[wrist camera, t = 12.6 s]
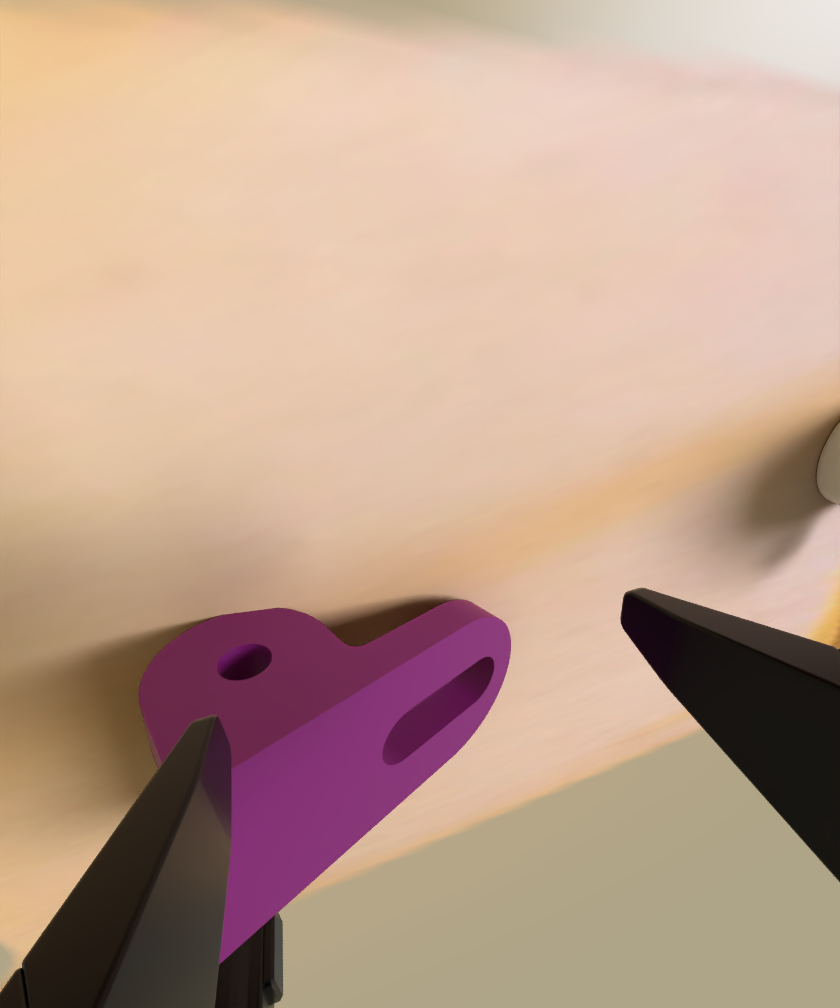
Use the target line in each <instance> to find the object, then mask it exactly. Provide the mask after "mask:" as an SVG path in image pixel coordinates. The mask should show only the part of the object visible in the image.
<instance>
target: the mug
mask: <svg viewBox="0 0 840 1008" xmlns="http://www.w3.org/2000/svg"><path fill="white" fill-rule="evenodd" d="M817 486H818V489H819V491H820V493H821V494H822V495H823V496H824V497H825V498H826V499H828V500H829V501H831V502H834V503H836V504H839V505H840V422H839V423H838V424H837V425H836V427H835V428H834V430H833V431H832V433H831V435H830V436H829V438H828V440H827V442H826V444H825V446H824V448H823V451H822V453H821V456H820V459H819V463H818V468H817Z"/></svg>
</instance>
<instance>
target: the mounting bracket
mask: <svg viewBox="0 0 840 1008" xmlns="http://www.w3.org/2000/svg"><path fill="white" fill-rule="evenodd" d="M510 652H511V638H510V633H509V630H508V627H507V626H506V624H505V623H504V622H503V621H502V620H500V619H499V618H497V617H495V616H494V615H492V614H490V613H489V612H487V611H485V610H484V609H482V608H480V607H479V606H477V605H475V604H473V603H472V602H470V601H467V600H452V601H449V602H446V603H443V604H441V605H439V606H437V607H435V608H433V609H431V610H429V611H427V612H426V613H424V614H422V615H420V616H418V617H416V618H414V619H412V620H411V621H409V622H407V623H405V624H403V625H401V626H399V627H397V628H396V629H394V630H392V631H390V632H388V633H386V634H384V635H382V636H381V637H379V638H377V639H375V640H373V641H371V642H369V643H367V644H365V645H363V646H349V645H346V644H344V643H343V642H342V641H341V640H340V639H339V638H338V637H337V636H335V635H334V634H333V633H332V632H331V631H330V630H329V629H328V628H327V627H326V626H325V625H323V624H322V623H321V622H320V621H318V620H317V619H315V618H314V617H312V616H309V615H307V614H305V613H302V612H299V611H295V610H290V609H284V608H273V609H265V610H257V611H250V612H242V613H234V614H227V615H221V616H217V617H215V618H212V619H209V620H207V621H205V622H203V623H200V624H198V625H196V626H194V627H192V628H191V629H189V630H187V631H185V632H184V633H182V634H181V635H179V636H178V637H176V638H175V639H174V640H172V641H171V642H170V643H169V644H167V645H166V646H165V647H164V648H163V649H162V650H161V651H160V652H159V653H158V654H157V655H156V656H155V657H154V659H153V660H152V661H151V663H150V664H149V666H148V667H147V669H146V670H145V672H144V675H143V677H142V679H141V683H140V686H139V694H138V695H139V704H140V708H141V712H142V715H143V719H144V723H145V727H146V731H147V735H148V739H149V742H150V746H151V750H152V754H153V757H154V759H155V762H156V765H157V767H158V769H159V767H160V766H161V764H162V763H163V762H164V760H165V759H166V757H167V756H168V755H169V753H170V752H171V750H172V749H173V747H174V746H175V745H176V743H177V742H178V740H179V739H180V738H181V736H182V735H183V733H184V732H185V730H186V729H187V728H188V726H189V725H190V724H191V723H192V722H193V721H194V720H197V719H200V718H204V717H207V716H210V715H217V716H218V717H219V719H220V721H221V723H222V726H223V728H224V731H225V733H226V736H227V738H228V741H229V743H230V747H231V756H232V831H231V855H230V866H229V876H228V885H227V894H226V904H225V913H224V923H223V932H222V941H221V951H220V960H219V964H220V963H222V962H223V961H224V960H225V959H226V958H227V957H228V956H229V955H231V954H232V953H233V952H234V951H235V950H236V949H237V948H238V947H239V946H241V945H242V944H243V943H244V942H245V941H246V940H247V939H248V938H250V937H251V936H252V935H253V934H254V933H255V932H256V931H257V930H259V929H260V928H261V927H262V926H263V925H264V924H265V923H266V922H268V921H269V920H270V919H271V918H272V917H273V916H274V915H275V914H277V913H278V912H279V911H280V910H281V909H282V908H283V907H284V906H286V905H287V904H288V903H289V902H290V901H291V900H292V899H293V898H294V897H296V896H297V895H298V894H299V893H300V892H301V891H302V890H303V889H305V888H306V887H307V886H308V885H309V884H310V883H311V882H312V881H314V880H315V879H316V878H317V877H318V876H319V875H320V874H321V873H323V872H324V871H325V870H326V869H327V868H328V867H329V866H330V865H332V864H333V863H334V862H335V861H336V860H337V859H338V858H339V857H341V856H342V855H343V854H344V853H345V852H346V851H347V850H348V849H349V848H351V847H352V846H353V845H354V844H355V843H356V842H357V841H358V840H360V839H361V838H362V837H363V836H364V835H365V834H366V833H367V832H369V831H370V830H371V829H372V828H373V827H374V826H375V825H376V824H378V823H379V822H380V821H381V820H382V819H383V818H384V817H385V816H387V815H388V814H389V813H390V812H391V811H392V810H393V809H394V808H396V807H397V806H398V805H399V804H400V803H401V802H402V801H403V800H404V799H406V798H407V797H408V796H409V795H410V794H411V793H412V792H413V791H415V790H416V789H417V788H418V787H419V786H420V785H421V784H422V783H424V782H425V781H426V780H427V779H428V778H429V777H430V776H431V775H433V774H434V773H435V772H436V771H437V770H438V769H439V768H440V767H442V766H443V765H444V764H445V763H446V762H447V761H448V760H449V759H451V758H452V757H453V756H454V755H455V754H456V753H457V752H458V751H459V750H460V749H461V748H462V747H463V746H464V745H465V744H466V742H467V741H468V740H469V739H470V738H471V737H472V735H473V734H474V733H475V731H476V730H477V729H478V727H479V726H480V724H481V723H482V721H483V720H484V719H485V717H486V715H487V714H488V712H489V710H490V708H491V707H492V705H493V703H494V701H495V699H496V697H497V695H498V693H499V691H500V688H501V686H502V683H503V681H504V678H505V675H506V672H507V668H508V664H509V659H510ZM448 682H449V683H448ZM445 684H446V685H445ZM441 687H442V688H441ZM438 689H439V690H438ZM434 692H435V693H434ZM431 694H432V695H431ZM430 695H431V696H430ZM427 697H428V698H427ZM424 699H425V700H424ZM423 700H424V701H423ZM420 702H421V703H420ZM417 704H418V705H417ZM416 705H417V706H416ZM413 707H414V708H413ZM410 709H411V710H410ZM409 710H410V711H409ZM406 712H407V713H406Z"/></svg>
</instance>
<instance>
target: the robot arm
mask: <svg viewBox="0 0 840 1008" xmlns="http://www.w3.org/2000/svg"><path fill="white" fill-rule="evenodd" d="M621 625H622V627H623V629H624V631H625V632H626V633H627V635H628V636H629V638H630V639H631V640H632V642H633V643H634V644H635V646H636V647H637V648H638V650H639V651H640V652H641V654H642V655H643V656H644V658H645V659H646V660H647V662H648V663H649V664H650V666H651V667H652V669H653V670H654V671H655V673H656V674H657V675H658V677H659V678H660V679H661V680H662V682H663V683H664V684H665V686H666V687H667V688H668V689H669V690H670V691H671V693H672V694H673V695H674V696H675V697H676V698H677V699H678V701H679V702H680V703H681V704H682V705H683V706H684V707H685V708H686V710H687V711H688V712H689V713H690V714H691V715H692V716H693V717H694V719H695V720H696V721H697V722H698V723H699V724H700V725H701V727H702V728H703V729H704V730H705V731H706V732H707V733H708V734H709V736H710V737H711V738H712V739H713V740H714V741H715V742H716V743H717V745H718V746H719V747H720V748H721V749H722V750H723V751H724V752H725V754H726V755H728V757H729V758H730V759H731V760H732V761H733V762H734V764H735V765H736V766H737V767H738V768H739V769H740V770H741V771H742V773H743V774H744V775H745V776H746V777H747V778H748V779H749V781H750V782H751V783H752V784H753V785H754V786H755V787H756V788H757V790H758V791H759V792H760V793H761V794H762V795H763V796H764V797H765V798H766V800H767V801H768V802H769V803H770V804H771V805H772V806H773V808H774V809H775V810H776V811H777V812H778V813H779V814H780V815H781V816H782V817H783V819H784V820H785V821H786V822H787V823H788V824H789V825H790V827H791V828H792V829H793V830H794V831H795V832H796V833H797V835H798V836H799V837H800V838H801V839H802V840H803V841H804V842H805V844H806V845H807V846H808V847H809V848H810V849H811V850H812V851H813V853H814V854H815V855H816V856H817V857H818V858H819V859H820V861H821V862H822V863H823V864H824V865H825V866H826V867H827V868H828V870H829V871H830V872H831V873H832V874H833V875H834V876H835V877H836V879H837V880H838V881H839V882H840V649H836V648H835V647H833V646H830V645H826V644H823V643H820V642H817V641H813V640H810V639H807V638H804V637H801V636H797V635H794V634H791V633H788V632H784V631H781V630H778V629H775V628H771V627H768V626H765V625H762V624H758V623H755V622H752V621H749V620H746V619H742V618H739V617H736V616H733V615H729V614H726V613H723V612H720V611H716V610H713V609H710V608H707V607H703V606H700V605H697V604H694V603H691V602H687V601H684V600H681V599H678V598H674V597H671V596H668V595H665V594H661V593H658V592H655V591H652V590H649V589H645V588H637V589H634V590H631V591H627V592H626V593H625V594H624V597H623V604H622V611H621ZM231 831H232V756H231V747H230V743H229V741H228V738H227V736H226V733H225V731H224V728H223V726H222V723H221V721H220V719H219V717H218V716H217V715H210V716H207V717H204V718H200V719H197V720H194V721H193V722H192V723H191V724H190V725H189V726H188V728H187V729H186V730H185V732H184V733H183V735H182V736H181V738H180V739H179V740H178V742H177V743H176V745H175V746H174V747H173V749H172V750H171V752H170V753H169V755H168V756H167V757H166V759H165V760H164V762H163V763H162V764H161V766H160V767H159V769H158V770H157V772H156V773H155V774H154V776H153V777H152V779H151V780H150V781H149V783H148V784H147V786H146V787H145V789H144V790H143V791H142V793H141V794H140V796H139V797H138V798H137V800H136V801H135V803H134V804H133V806H132V807H131V808H130V810H129V811H128V813H127V814H126V815H125V817H124V818H123V820H122V821H121V823H120V824H119V825H118V827H117V828H116V830H115V831H114V832H113V834H112V835H111V837H110V838H109V840H108V841H107V842H106V844H105V845H104V847H103V848H102V849H101V851H100V852H99V854H98V855H97V857H96V858H95V859H94V861H93V862H92V864H91V865H90V866H89V868H88V869H87V871H86V872H85V874H84V875H83V876H82V878H81V879H80V881H79V882H78V883H77V885H76V886H75V888H74V889H73V891H72V892H71V893H70V895H69V896H68V898H67V899H66V900H65V902H64V903H63V905H62V906H61V908H60V909H59V910H58V912H57V913H56V915H55V916H54V917H53V919H52V920H51V922H50V923H49V925H48V926H47V927H46V929H45V930H44V932H43V933H42V934H41V936H40V937H39V939H38V940H37V942H36V943H35V944H34V946H33V947H32V949H31V950H30V951H29V953H28V954H27V956H26V957H25V959H24V960H23V962H22V968H19V969H17V970H16V971H15V972H14V974H13V975H12V977H11V978H10V979H9V981H8V982H7V984H6V985H5V987H4V988H3V989H2V991H1V992H0V1008H274V1004H275V1003H277V1002H279V1001H280V1000H281V998H282V996H283V935H282V934H283V933H282V932H283V930H282V929H283V928H282V925H283V924H282V920H281V918H280V915H279V913H277V914H275V915H274V916H273V917H272V918H271V919H270V920H269V921H268V922H266V923H265V924H264V925H263V926H262V927H261V928H260V929H259V930H257V931H256V932H255V933H254V934H253V935H252V936H251V937H250V938H248V939H247V940H246V941H245V942H244V943H243V944H242V945H241V946H239V947H238V948H237V949H236V950H235V951H234V952H233V953H232V954H231V955H229V956H228V957H227V958H226V959H225V960H224V961H223V962H222V963H220V964H219V960H220V951H221V941H222V932H223V923H224V913H225V904H226V894H227V885H228V876H229V866H230V855H231Z"/></svg>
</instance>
